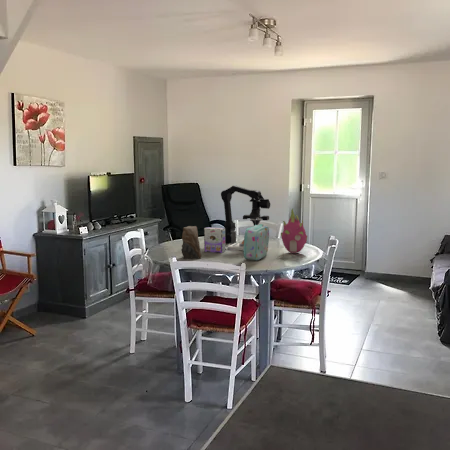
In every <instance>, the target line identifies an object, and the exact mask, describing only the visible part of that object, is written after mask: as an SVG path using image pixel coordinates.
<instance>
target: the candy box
mask: <svg viewBox="0 0 450 450" xmlns="http://www.w3.org/2000/svg"><path fill="white" fill-rule="evenodd" d="M203 234H204V235H203V238H204V239H203V240H204V241H203V243H204V248H203V249H204V251H203V252H207V253H219V254H222V253H225V252H226V251H225V249H226V243H225V228H224V227H209V226H208V227H204V228H203Z"/></svg>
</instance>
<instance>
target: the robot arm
mask: <svg viewBox="0 0 450 450" xmlns="http://www.w3.org/2000/svg"><path fill="white" fill-rule="evenodd" d="M235 193H239V194H242V195H246V196H248V197H250V199H249V202H250V203H251V211H250V213H249V214H244V215H243V216H242V220H248V219H249V220H250V222H251V223H252V224H253V226H255V225H259V224H260V222H261V221H269V220H270V216H269V215H261V209H263V210H264V209H267V210H269V209H270V208H271V202H270V199H269V198H264V197H263V194H262V192H261V191H260V190H257V189H254V190H253V189H248V188H245V187H241V186H238V185H232V186H230V187H229V188H226V189H224V190H222V191H221V192H220V197H221V200H222V201H223V206H224V215H225V216H224V217H225V222H224V227H223V228H225V244H231V243H232V231H236V228H237V227H236V222H233V217H232V214H233V213H232V208H231V207H232V206H231V201H232V197H233V194H235Z"/></svg>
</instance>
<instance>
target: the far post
mask: <svg viewBox="0 0 450 450" xmlns="http://www.w3.org/2000/svg"><path fill="white" fill-rule="evenodd" d="M234 243H237V231H236V230H235V231H232V242H231V243H230V245H232V244H234Z"/></svg>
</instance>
